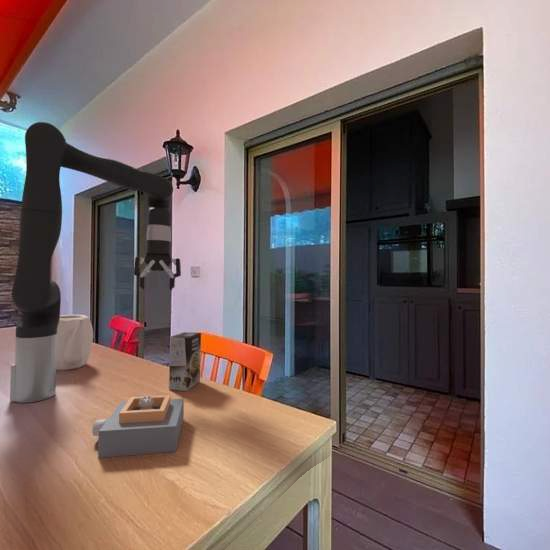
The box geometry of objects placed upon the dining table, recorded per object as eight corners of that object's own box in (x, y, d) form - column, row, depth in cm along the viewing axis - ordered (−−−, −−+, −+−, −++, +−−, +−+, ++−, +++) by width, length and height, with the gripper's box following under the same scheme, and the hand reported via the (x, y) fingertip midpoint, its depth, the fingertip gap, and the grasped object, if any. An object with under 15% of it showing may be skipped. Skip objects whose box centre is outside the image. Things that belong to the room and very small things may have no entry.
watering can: (53, 381, 101) (55, 322, 101) (33, 364, 118) (34, 314, 118) (105, 370, 112) (106, 318, 112) (80, 357, 130) (81, 311, 130)
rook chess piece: (135, 443, 64) (136, 403, 64) (133, 433, 68) (134, 396, 68) (158, 438, 66) (159, 400, 66) (155, 428, 70) (156, 393, 70)
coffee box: (187, 391, 93) (188, 337, 93) (168, 389, 95) (169, 336, 95) (201, 381, 102) (202, 332, 102) (182, 380, 103) (183, 331, 104)
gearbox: (80, 459, 58) (81, 421, 58) (106, 424, 72) (107, 393, 72) (175, 451, 61) (176, 415, 61) (183, 419, 75) (184, 390, 75)
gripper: (132, 237, 98) (131, 289, 98) (179, 239, 100) (178, 290, 100) (138, 240, 105) (137, 288, 105) (182, 242, 108) (181, 289, 108)
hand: (157, 289), depth 103 cm, fingers open, 8 cm apart
